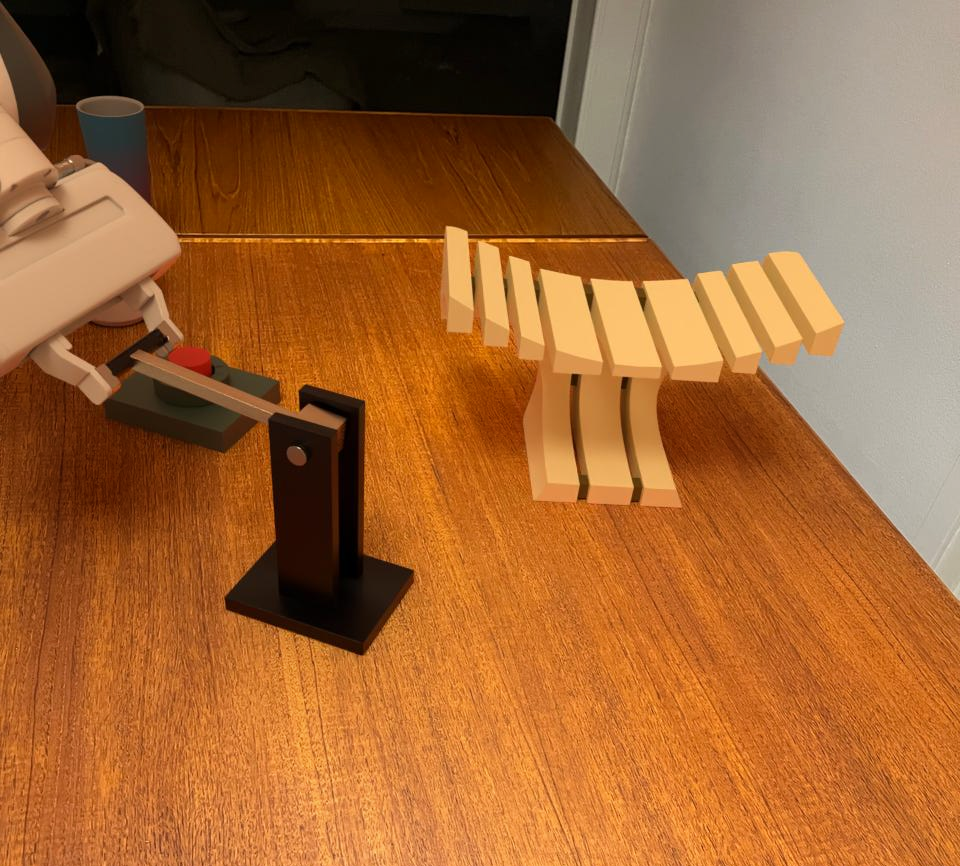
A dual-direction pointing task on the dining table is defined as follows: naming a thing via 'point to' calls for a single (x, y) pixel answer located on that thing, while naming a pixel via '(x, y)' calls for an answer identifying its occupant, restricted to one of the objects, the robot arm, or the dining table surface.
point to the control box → (189, 407)
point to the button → (192, 359)
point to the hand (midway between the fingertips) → (143, 372)
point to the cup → (117, 138)
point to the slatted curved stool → (627, 355)
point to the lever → (211, 386)
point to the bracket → (320, 535)
